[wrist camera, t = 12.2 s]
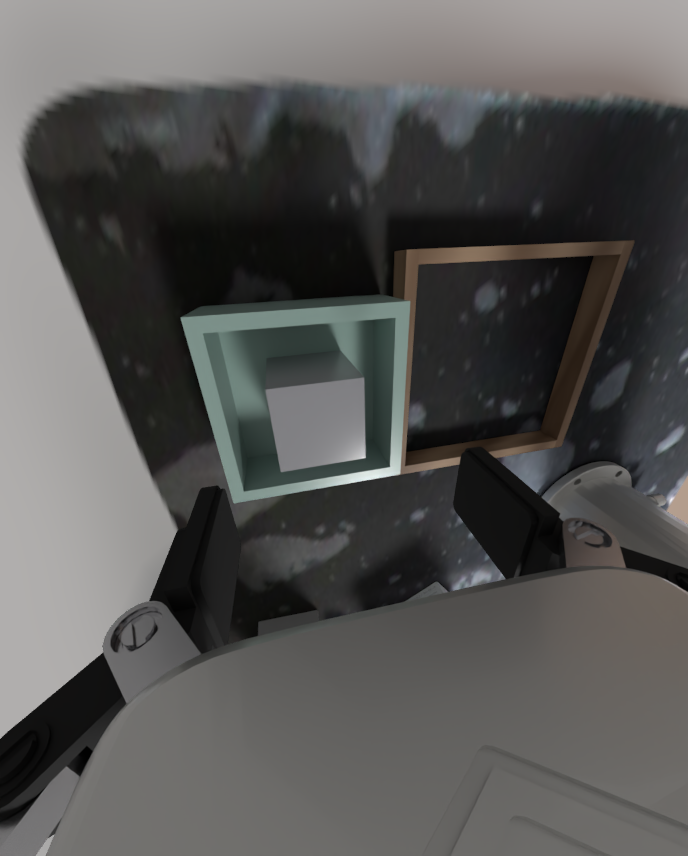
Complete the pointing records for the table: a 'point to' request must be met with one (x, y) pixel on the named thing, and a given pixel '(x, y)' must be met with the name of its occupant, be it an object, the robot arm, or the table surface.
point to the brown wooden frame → (575, 358)
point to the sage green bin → (294, 335)
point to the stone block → (316, 409)
